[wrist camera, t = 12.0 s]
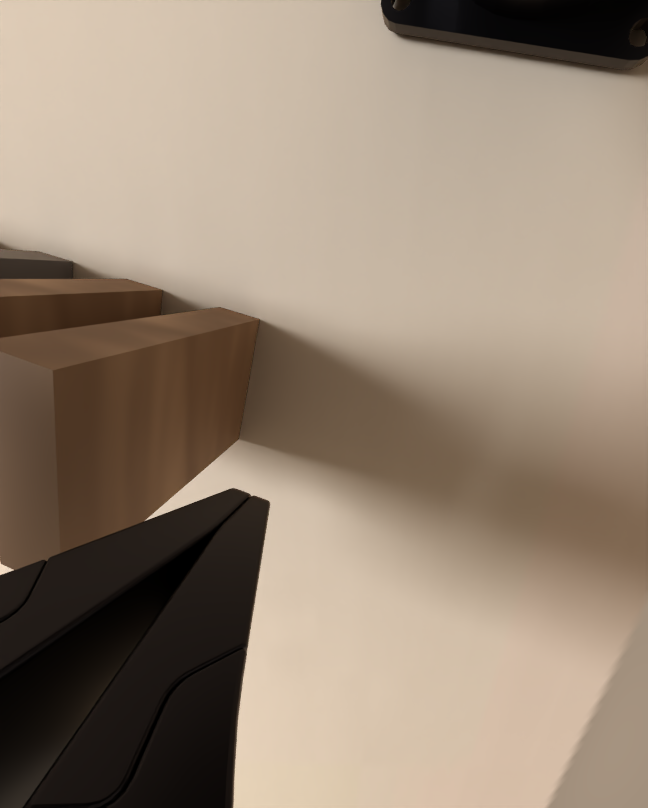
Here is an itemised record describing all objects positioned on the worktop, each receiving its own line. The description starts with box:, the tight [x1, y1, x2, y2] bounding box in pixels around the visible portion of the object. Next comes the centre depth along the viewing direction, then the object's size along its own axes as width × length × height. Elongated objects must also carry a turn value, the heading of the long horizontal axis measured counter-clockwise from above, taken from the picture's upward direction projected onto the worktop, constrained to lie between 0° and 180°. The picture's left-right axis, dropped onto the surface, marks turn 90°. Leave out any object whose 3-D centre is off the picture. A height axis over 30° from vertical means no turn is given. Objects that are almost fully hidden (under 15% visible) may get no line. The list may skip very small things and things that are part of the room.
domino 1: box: [0, 279, 162, 338], centre depth 11 cm, size 2×5×8 cm, turn 166°
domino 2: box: [0, 307, 260, 570], centre depth 11 cm, size 2×5×8 cm, turn 165°
